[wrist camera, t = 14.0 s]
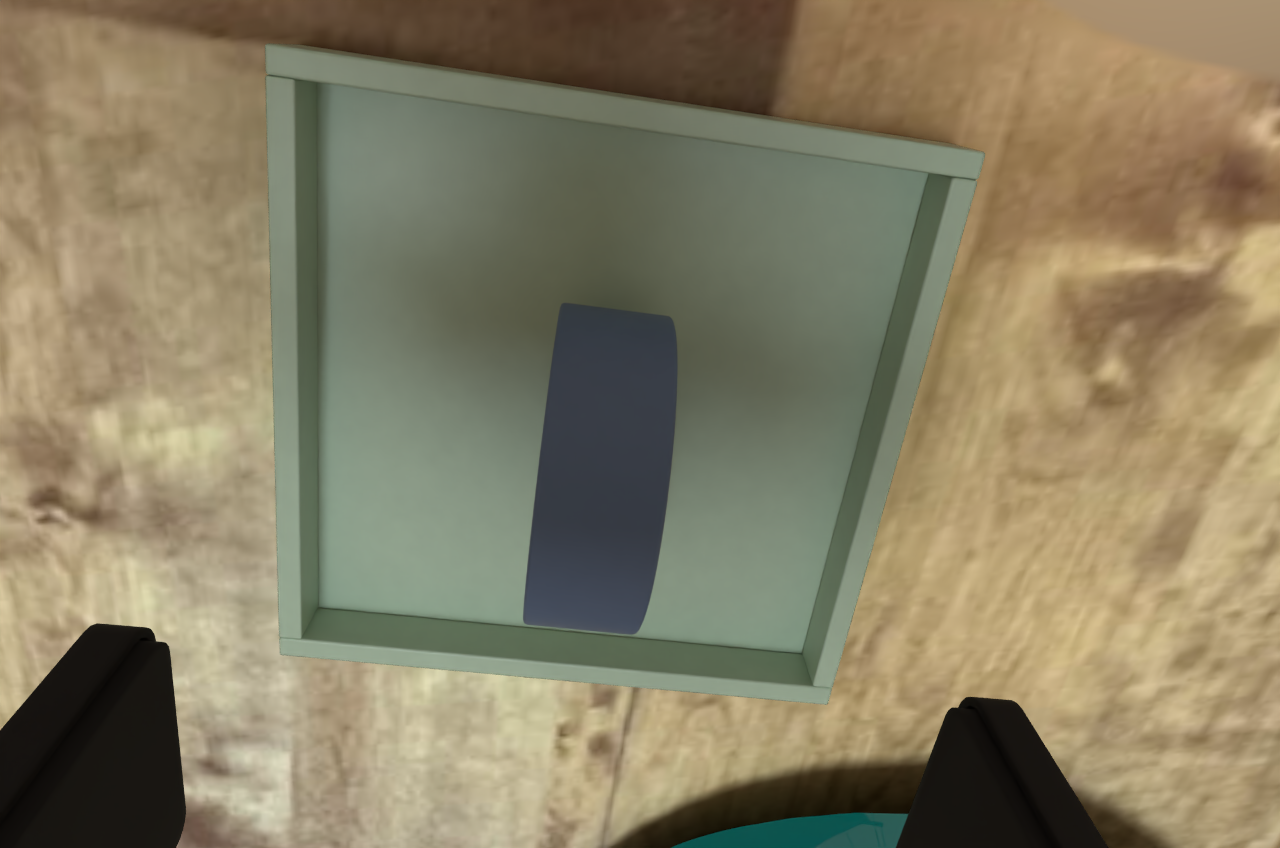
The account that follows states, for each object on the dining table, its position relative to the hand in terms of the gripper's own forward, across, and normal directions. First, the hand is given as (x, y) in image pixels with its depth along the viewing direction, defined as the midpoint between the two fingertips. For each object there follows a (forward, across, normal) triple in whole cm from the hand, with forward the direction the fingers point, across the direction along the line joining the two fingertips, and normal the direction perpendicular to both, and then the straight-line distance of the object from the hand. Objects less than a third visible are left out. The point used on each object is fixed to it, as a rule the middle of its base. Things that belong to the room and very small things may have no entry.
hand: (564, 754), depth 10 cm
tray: (+13, 0, +1) cm, 13 cm away
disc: (+13, 0, +1) cm, 13 cm away
